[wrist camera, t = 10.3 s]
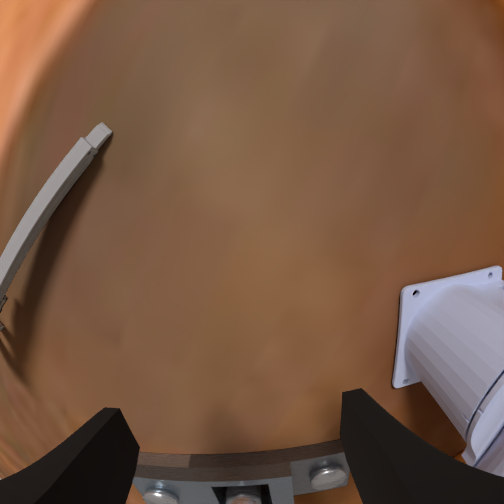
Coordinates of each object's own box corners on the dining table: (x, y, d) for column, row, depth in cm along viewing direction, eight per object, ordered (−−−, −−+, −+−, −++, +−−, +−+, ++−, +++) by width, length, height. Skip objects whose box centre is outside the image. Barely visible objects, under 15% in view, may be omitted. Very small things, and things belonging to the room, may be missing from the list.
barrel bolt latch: (348, 437, 20) (360, 470, 17) (343, 474, 22) (352, 503, 18) (136, 451, 21) (125, 482, 17) (158, 486, 22) (151, 514, 18)
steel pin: (255, 461, 21) (257, 529, 14) (263, 476, 22) (266, 539, 15) (223, 465, 21) (219, 531, 14) (232, 480, 22) (230, 542, 15)
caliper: (1, 340, 19) (-41, 375, 12) (-7, 331, 18) (-49, 364, 12) (115, 132, 15) (55, 115, 9) (104, 122, 15) (42, 102, 9)
